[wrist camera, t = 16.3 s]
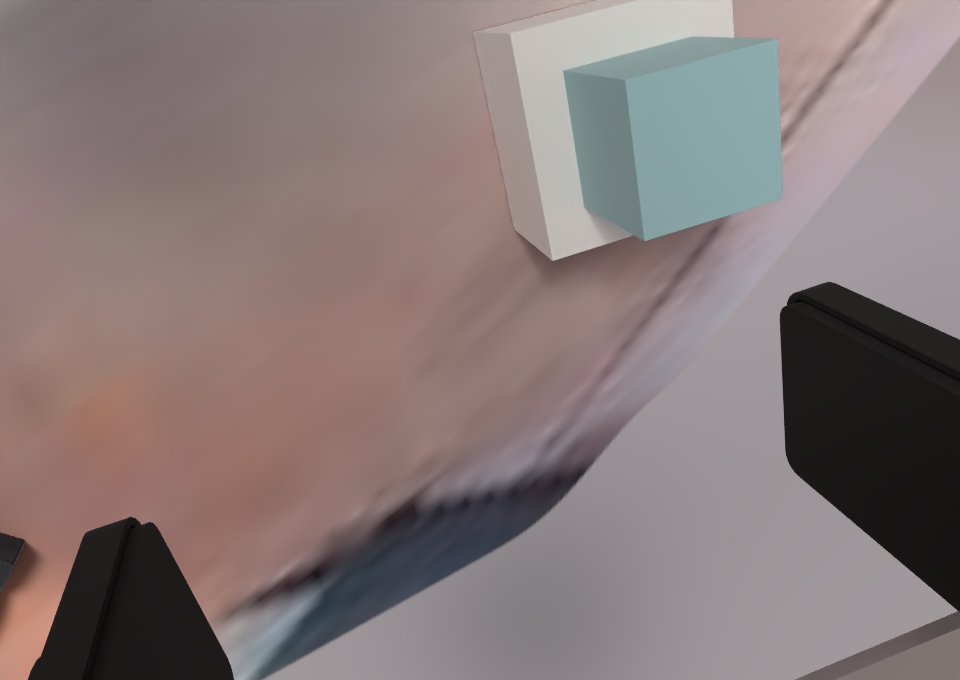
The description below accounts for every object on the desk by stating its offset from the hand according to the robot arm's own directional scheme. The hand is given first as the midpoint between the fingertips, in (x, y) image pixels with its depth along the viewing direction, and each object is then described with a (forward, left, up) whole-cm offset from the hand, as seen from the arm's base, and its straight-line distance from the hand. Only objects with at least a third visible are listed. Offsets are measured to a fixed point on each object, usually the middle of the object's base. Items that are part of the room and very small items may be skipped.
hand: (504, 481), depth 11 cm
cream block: (+1, +13, -28) cm, 31 cm away
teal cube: (+1, +13, -22) cm, 26 cm away
